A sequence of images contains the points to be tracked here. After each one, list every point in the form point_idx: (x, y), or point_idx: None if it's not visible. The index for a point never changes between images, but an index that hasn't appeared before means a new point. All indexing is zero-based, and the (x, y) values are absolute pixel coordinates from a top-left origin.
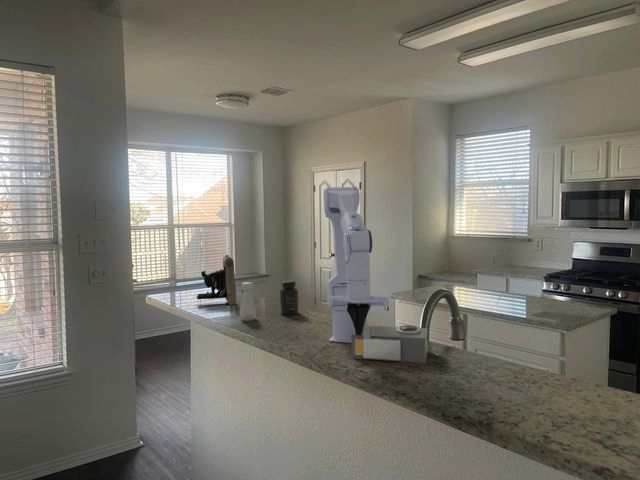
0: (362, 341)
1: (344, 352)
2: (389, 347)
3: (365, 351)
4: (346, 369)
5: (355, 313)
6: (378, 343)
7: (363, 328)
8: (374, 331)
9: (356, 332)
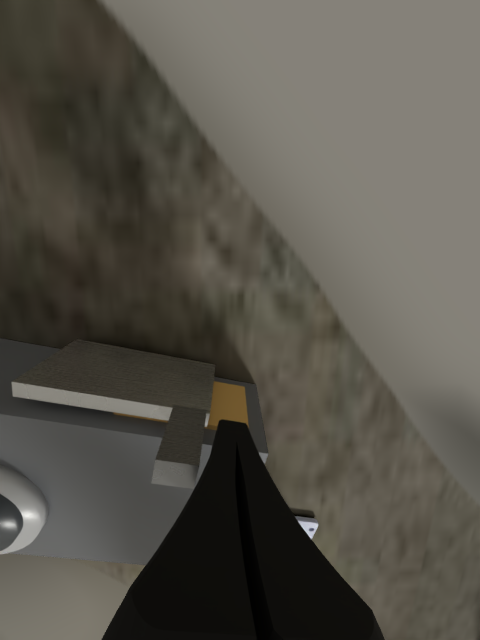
0: (214, 418)
1: (276, 436)
2: (93, 371)
3: (205, 377)
4: (280, 271)
5: (268, 571)
6: (138, 388)
7: None
8: (154, 498)
9: (245, 432)
